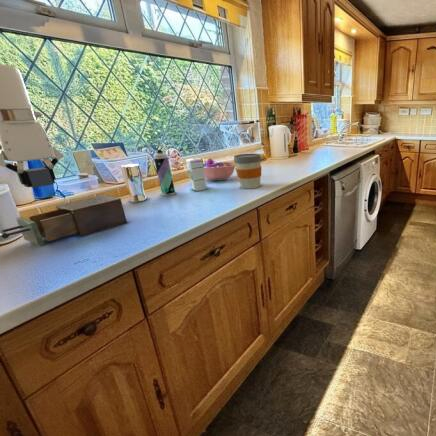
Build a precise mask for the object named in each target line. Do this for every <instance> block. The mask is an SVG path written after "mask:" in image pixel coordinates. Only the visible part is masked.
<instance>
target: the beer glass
mask: <svg viewBox="0 0 436 436" xmlns="http://www.w3.org/2000/svg"><path fill="white" fill-rule="evenodd" d="M120 169H121V175H122V178H123V182H124V184H125V186H126V188H127V190H128V192H129V197H130V198H129V199H130V203H140V202H145V201H147V199H148V198H147V196H146V194H145V189H144V188H145V187H144V176H143V172H142V169H141V166H140V164H138V163H130V164H123V165H121V166H120Z"/></svg>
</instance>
